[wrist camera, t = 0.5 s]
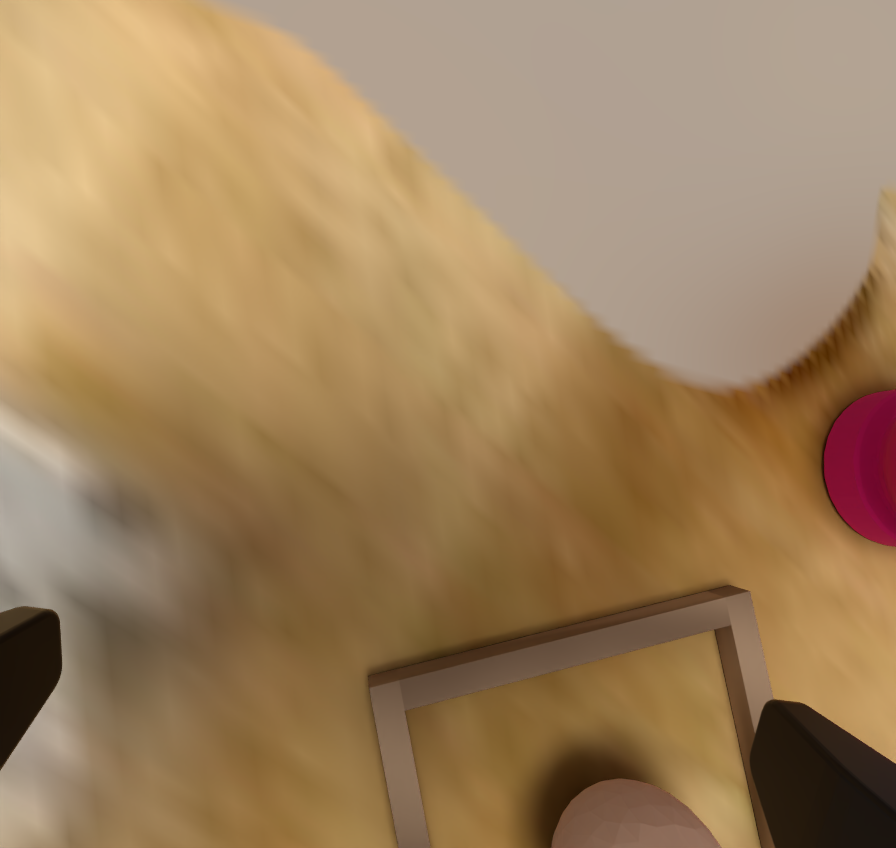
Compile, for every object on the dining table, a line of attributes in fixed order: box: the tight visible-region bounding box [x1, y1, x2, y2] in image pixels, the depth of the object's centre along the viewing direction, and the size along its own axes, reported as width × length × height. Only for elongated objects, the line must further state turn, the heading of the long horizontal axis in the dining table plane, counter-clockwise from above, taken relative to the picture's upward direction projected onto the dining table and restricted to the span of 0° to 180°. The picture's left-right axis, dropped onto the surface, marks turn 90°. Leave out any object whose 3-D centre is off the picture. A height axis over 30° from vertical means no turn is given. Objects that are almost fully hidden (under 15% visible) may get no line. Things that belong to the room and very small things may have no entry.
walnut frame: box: [368, 585, 775, 848], centre depth 21 cm, size 14×14×1 cm
